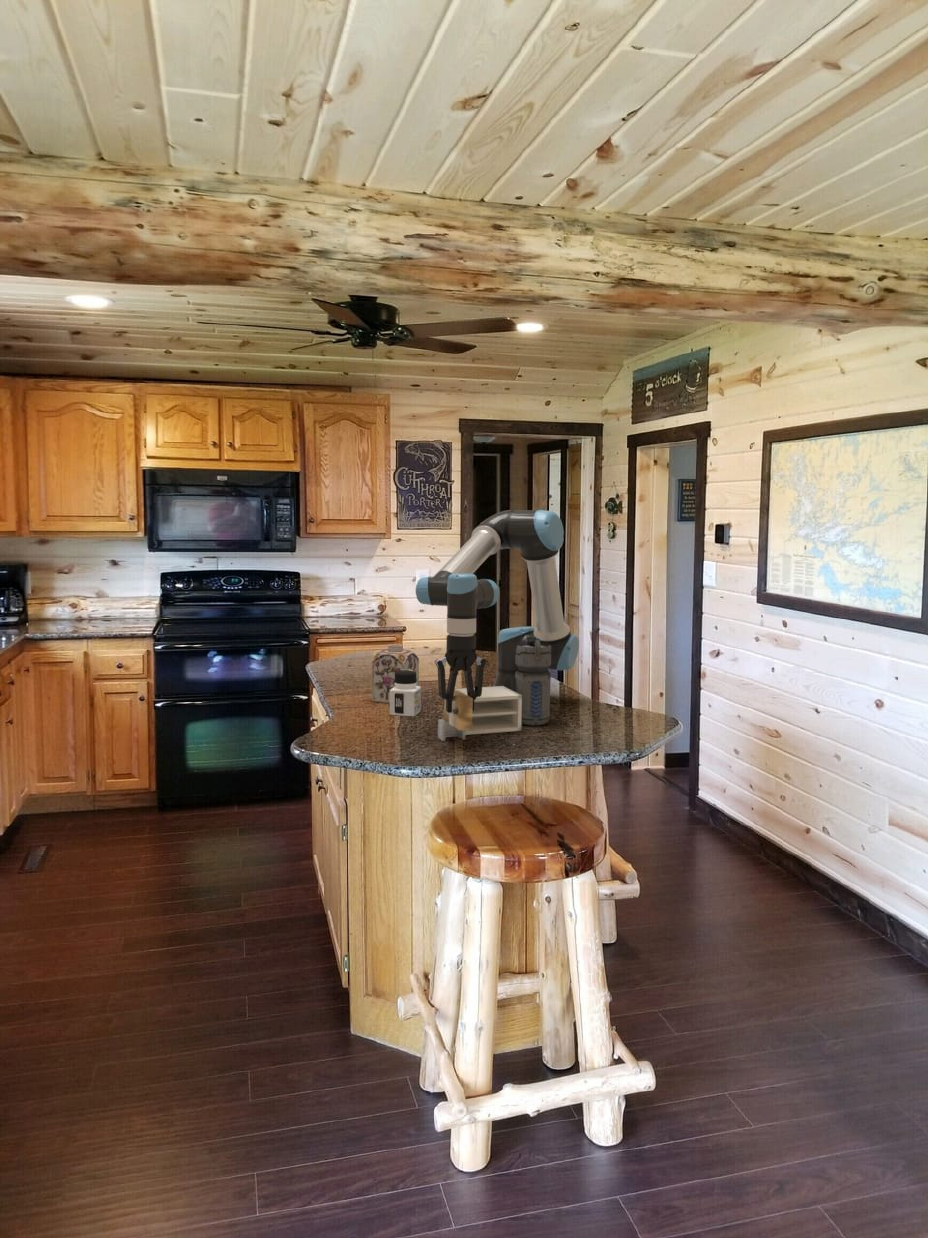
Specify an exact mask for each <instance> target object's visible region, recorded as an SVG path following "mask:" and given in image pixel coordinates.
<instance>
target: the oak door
mask: <svg viewBox="0 0 928 1238" xmlns="http://www.w3.org/2000/svg"><path fill="white" fill-rule="evenodd" d="M446 691H447V690H446ZM453 700H455V709H453V713H454V714H455V726H454V727H455V728H457V729H458V730H470V729H472V707H473V698H471V697H469V696H468V695H466V694H464V693H462V692H460V691H459V690H454V695H453ZM443 719H444V720H445V721H447V722H448V723H449V713H448V712H446V699H445V711H444V710H443Z"/></svg>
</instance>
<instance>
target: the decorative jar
mask: <svg viewBox="0 0 928 1238" xmlns="http://www.w3.org/2000/svg"><path fill="white" fill-rule="evenodd" d="M403 647H404V646H403V644H395V643H391V644H388V645H387V648H385V649H381V650H377V652H376V653H375V655H374V657H373V658H372V660H371V702H374V703H380V704H381V703H382V704H390V690H391V689H392V688H394V687H395V672H396V671H398V670H413V671H415V672H416V686H420V667H419V666H420V662H419V661H420V660H419V659H420V658H419V657H418V655H417V654H416V652H414V651H413V650H410V649H403Z"/></svg>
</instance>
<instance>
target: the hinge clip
mask: <svg viewBox="0 0 928 1238" xmlns="http://www.w3.org/2000/svg"><path fill="white" fill-rule="evenodd" d="M465 731H466V730H458V729H457V728H455V727H454V726H452V725H450V724H449V723H448V722H447V721H445V720H444V718H438V719H437V738H438V739H439V740H441V742H446V738H454V737H458V738H460V739H461V740H466V735H465Z"/></svg>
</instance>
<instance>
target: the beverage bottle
mask: <svg viewBox="0 0 928 1238" xmlns="http://www.w3.org/2000/svg"><path fill="white" fill-rule="evenodd" d="M534 644H535V645H534ZM515 661H516V665H517V667H518V669H519V670H517V671H516V672H515V692H516V693H518V694H520V695H522V715H521V725H524V726H532V727H533V726H534V727H535V726H542V725H545V724H547V723H548V722H549V721H550V715H551V713H550V712H551V677H552V675H551V674H552V673H551V671H549V670H550V669H549V667H550V666H551V646H550V645H549V646H548V647H545V646H540V639H535V641H534V638H532V637H531V636H530V637H526V639H525V646H519V645H518V646H517V649H516V656H515Z"/></svg>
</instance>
